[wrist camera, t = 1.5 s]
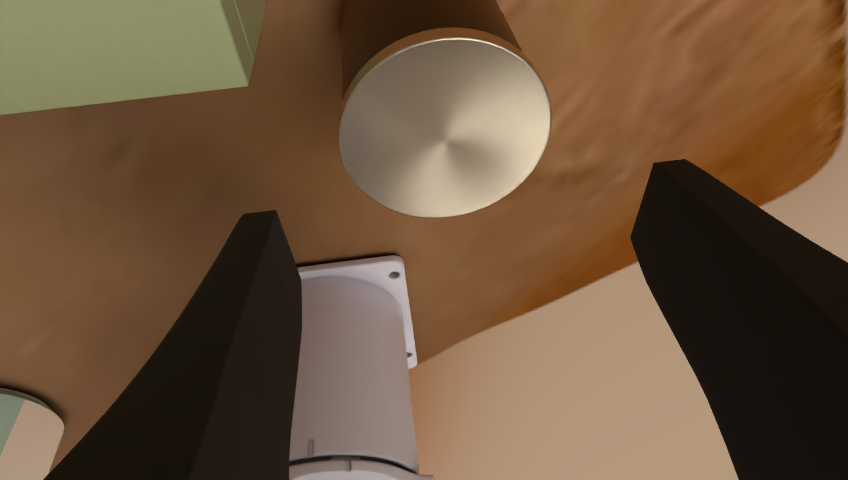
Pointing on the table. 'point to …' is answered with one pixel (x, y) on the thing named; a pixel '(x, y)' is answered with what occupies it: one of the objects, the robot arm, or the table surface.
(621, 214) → the table surface
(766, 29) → the table surface
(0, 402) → the can
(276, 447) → the robot arm
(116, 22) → the shelf
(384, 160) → the canister
